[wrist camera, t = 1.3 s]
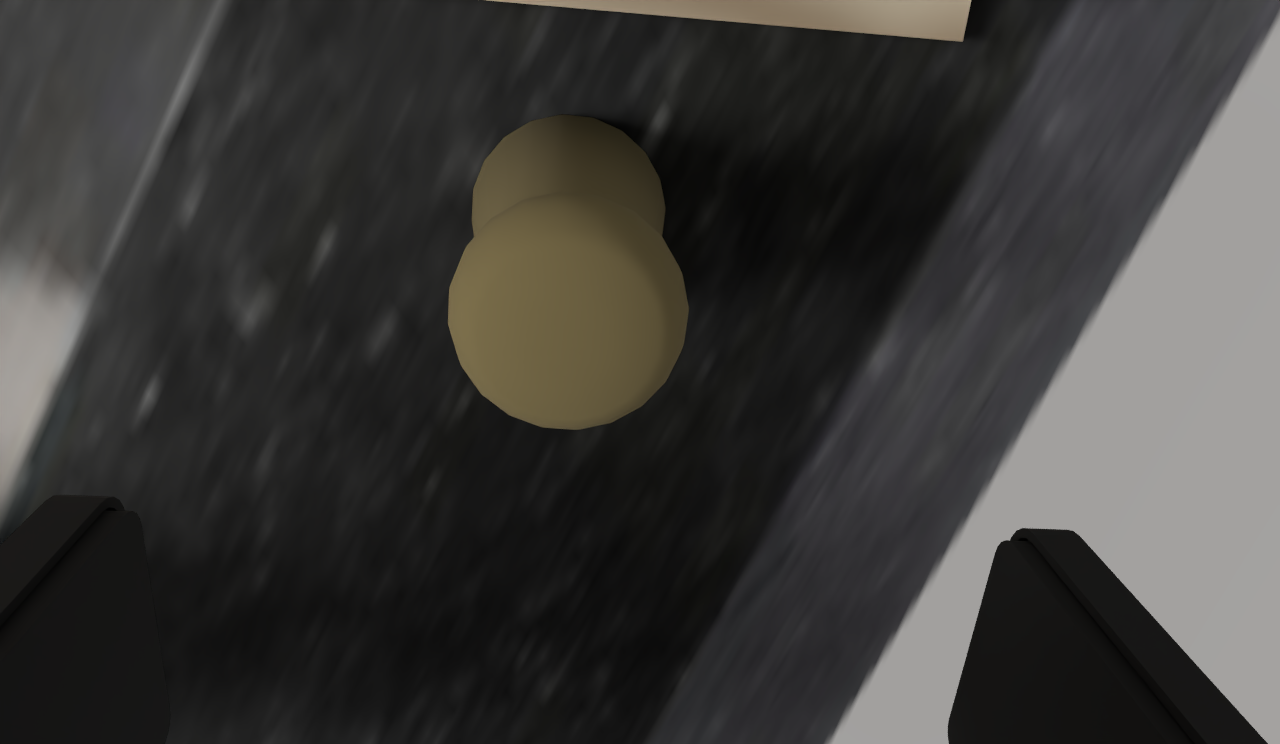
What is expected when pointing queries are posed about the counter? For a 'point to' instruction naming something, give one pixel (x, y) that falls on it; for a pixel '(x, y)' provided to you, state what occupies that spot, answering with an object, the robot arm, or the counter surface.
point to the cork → (568, 277)
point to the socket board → (805, 13)
